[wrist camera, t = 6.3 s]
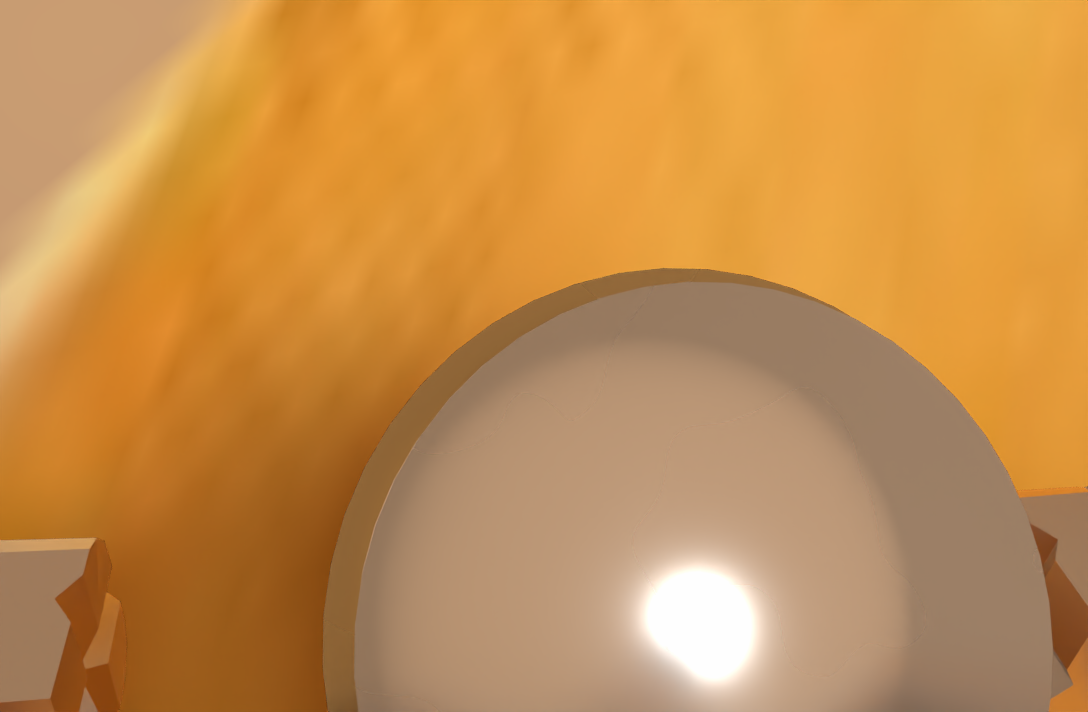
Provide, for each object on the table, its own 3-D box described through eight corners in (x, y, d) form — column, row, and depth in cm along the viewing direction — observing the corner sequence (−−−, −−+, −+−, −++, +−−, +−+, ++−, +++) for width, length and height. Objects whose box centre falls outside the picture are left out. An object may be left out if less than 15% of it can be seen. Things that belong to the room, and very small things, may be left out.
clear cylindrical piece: (658, 761, 14) (1043, 1111, 6) (317, 707, 14) (231, 1016, 6) (711, 425, 15) (1114, 335, 7) (389, 359, 15) (412, 176, 6)
